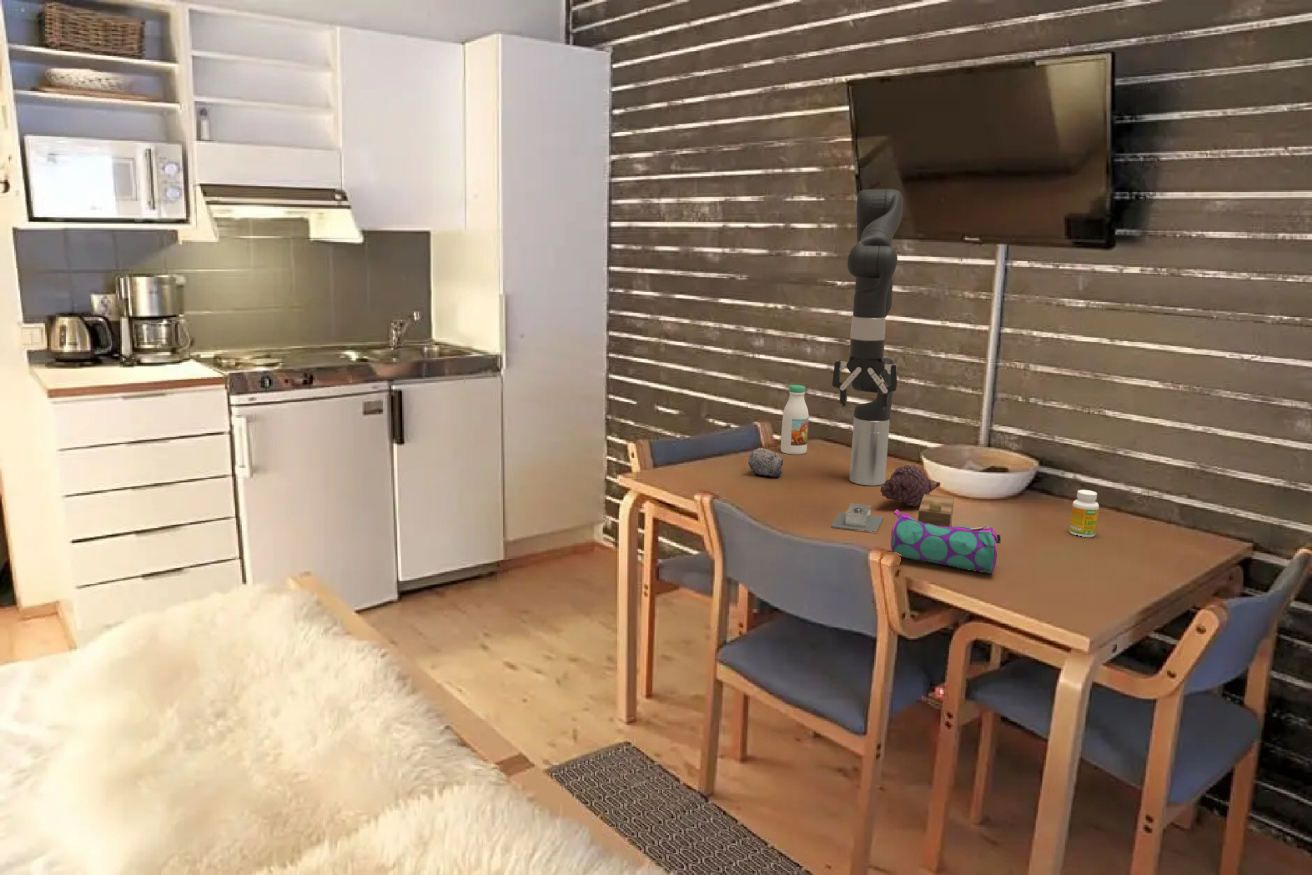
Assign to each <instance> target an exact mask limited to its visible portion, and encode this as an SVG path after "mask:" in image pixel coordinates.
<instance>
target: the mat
mask: <svg viewBox="0 0 1312 875" xmlns="http://www.w3.org/2000/svg"><path fill="white" fill-rule="evenodd" d="M846 512H847V511H839V513H838V515H836V517H835V519H834V521H833V523H832V524H831V526H830V528H831V529H837V528H840V530H845V529H849V530H848V531H853V530H864V531H872V532H877V533H878V531H879V529H880V527H879V526H881V524H882V522H883V520H884V516H880V515H879V516H878V515H870V519H869V522H868V524H867V526H866V528H864V527H856V526H848V525H845V522H846ZM878 528H879V529H878ZM875 530H878V531H875Z"/></svg>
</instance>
